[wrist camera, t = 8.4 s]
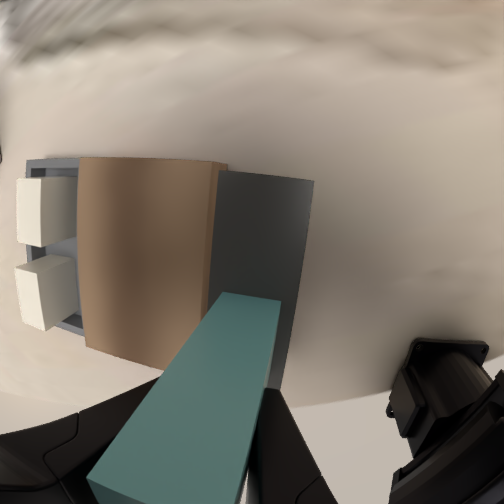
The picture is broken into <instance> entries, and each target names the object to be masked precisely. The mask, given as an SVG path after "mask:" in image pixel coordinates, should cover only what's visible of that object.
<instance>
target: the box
mask: <svg viewBox="0 0 504 504" xmlns="http://www.w3.org/2000/svg"><path fill="white" fill-rule="evenodd" d="M79 164H80V158H61V159H35V160H27V163H26V178H30V177H45V176H78V179H79ZM77 202H78V185H77ZM26 250H27V263H28V262H31V261H33V260H36V259H39V258H42V257H44V256H47V255H50V254H54V255H59V256H64V257H70V258H74V260H75V274H76V286H77V296H78V305H79V310H78V311H77V312H75V313H74V314H72V315H70V316H69V317H67V318H66V319H64V320H63V321H61V322H59V323H58V324H56V325H55V326H56V327H59V328H62V329H64V330H67V331H70V332H73V333H75V334H78V335H81V336H84V337H85V334H84V326H83V318H82V309H81V299H80V286H79V271H78V248H77V236H76V237H73V238H69V239H66V240H63V241H60V242H56V243H53V244H50V245H47V246H44V247H37V246H33V245H28V244H26Z"/></svg>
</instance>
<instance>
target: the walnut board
mask: <svg viewBox="0 0 504 504" xmlns="http://www.w3.org/2000/svg"><path fill="white" fill-rule="evenodd" d="M219 170H224V171H227V164H222V163H217V162H210V161H195V160H178V159H156V158H116V157H86V158H80V164H79V179H78V202H77V248H78V271H79V286H80V299H81V309H82V318H83V326H84V334H85V341H86V346H87V347H89V348H92V349H95V350H98V351H101V352H104V353H107V354H110V355H113V356H116V357H119V358H122V359H126V360H129V361H132V362H135V363H139V364H142V365H146V366H149V367H153V368H156V369H160V370H164V371H165V369H166V368H167V367H168V365H169V364H170V363H171V361H172V360H173V359H174V357H175V356H176V355H177V353H178V352H179V350H180V349H181V348H182V346H183V345H184V344H185V342H186V341H187V340H188V338H189V337H190V335H191V334H192V333H193V331H194V330H195V329H196V327H197V326H198V325H199V323H200V322H201V321H202V319H203V318H204V316H205V315H206V314H207V306H208V290H209V276H210V263H211V250H212V238H213V226H214V215H215V204H216V193H217V183H218V173H219Z"/></svg>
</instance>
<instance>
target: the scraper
mask: <svg viewBox="0 0 504 504" xmlns="http://www.w3.org/2000/svg"><path fill="white" fill-rule="evenodd" d="M313 186H314V181H311V180H304V179H297V178H289V177H281V176H273V175H264V174H255V173H245V172H235V171H224V170H219V173H218V183H217V193H216V204H215V215H214V226H213V238H212V250H211V263H210V276H209V290H208V306H207V314H206V315H205V316H204V318H203V319H202V321H201V322H200V323H199V325H198V326H197V327H196V329H195V330H194V331H193V333H192V334H191V335H190V337H189V338H188V340H187V341H186V342H185V344H184V345H183V346H182V348H181V349H180V350H179V352H178V353H177V355H176V356H175V357H174V359H173V360H172V361H171V363H170V364H169V365H168V367H167V368H166V369H165V371H164V372H163V374H162V375H161V376H160V378H159V379H158V380H157V382H156V383H155V384H154V386H153V387H152V388H151V390H150V391H149V393H148V394H147V395H146V397H145V398H144V399H143V401H142V402H141V403H140V405H139V406H138V408H137V409H136V410H135V412H134V413H133V414H132V416H131V417H130V418H129V420H128V421H127V422H126V424H125V425H124V427H123V428H122V429H121V431H120V432H119V433H118V435H117V436H116V437H115V439H114V440H113V442H112V443H111V444H110V446H109V447H108V448H107V450H106V451H105V452H104V454H103V455H102V456H101V458H100V459H99V461H98V462H97V463H96V465H95V466H94V467H93V469H92V470H91V471H90V473H89V474H88V476H87V477H86V478H87V481H88V483H89V485H90V487H91V489H92V491H93V493H94V495H95V497H96V499H97V501H98V503H99V504H240V501H241V497H242V493H243V489H244V485H245V481H246V477H247V473H248V468H249V462H250V457H251V452H252V446H253V441H254V435H255V430H256V424H257V419H258V414H259V410H260V406H261V402H262V398H263V394H264V389H265V388H266V387H267V388H274V389H279V390H280V388H281V383H282V378H283V373H284V368H285V363H286V358H287V353H288V347H289V342H290V337H291V331H292V325H293V320H294V314H295V308H296V302H297V296H298V290H299V284H300V278H301V272H302V265H303V259H304V252H305V245H306V238H307V231H308V224H309V217H310V209H311V202H312V194H313Z"/></svg>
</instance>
